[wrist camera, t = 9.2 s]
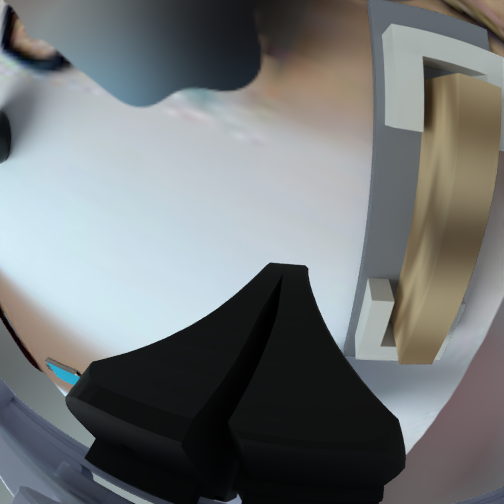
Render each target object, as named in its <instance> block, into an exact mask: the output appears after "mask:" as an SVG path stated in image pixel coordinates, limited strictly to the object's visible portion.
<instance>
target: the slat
mask: <svg viewBox="0 0 504 504" xmlns="http://www.w3.org/2000/svg"><path fill="white" fill-rule="evenodd" d="M501 111H502V99H501V88H500V87H498V86H495V85H493V84H490V83H487V82H485V81H482V80H479V79H476V78H473V77H470V76H467V75H464V74H461V73H456V74H451V75H446V76H441V77H436V78H431V79H427V80H424V128H423V132H422V137H421V152H420V164H419V174H418V182H417V190H416V198H415V205H414V211H413V217H412V223H411V228H410V234H409V239H408V244H407V248H406V253H405V258H404V262H403V266H402V270H401V274H400V278H399V282H398V286H397V290H396V294H395V297H394V305H393V309H392V312H391V315H390V316H391V321H392V327H393V332H394V337H395V343H396V349H397V355H398V361H399V364H432V363H433V361H434V359H435V357H436V355H437V353H438V351H439V350H440V348H441V346H442V344H443V342H444V340H445V338H446V336H447V334H448V331H449V329H450V327H451V325H452V323H453V321H454V318H455V316H456V314H457V311H458V309H459V307H460V304H461V302H462V299H463V297H464V294H465V292H466V289H467V287H468V284H469V281H470V278H471V275H472V273H473V270H474V267H475V264H476V261H477V257H478V254H479V251H480V247H481V244H482V240H483V237H484V233H485V229H486V225H487V221H488V217H489V212H490V208H491V203H492V198H493V192H494V187H495V181H496V174H497V167H498V158H499V148H500V136H501Z"/></svg>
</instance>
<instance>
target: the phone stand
mask: <svg viewBox="0 0 504 504" xmlns="http://www.w3.org/2000/svg"><path fill="white" fill-rule="evenodd" d="M45 361H46V362H47V363H48V364H49V366H48V365H46V366H47V367H49V368H48V369H50V368H51V369H50V370H52V371H54V372H55V374H56V375H57V376H58V377H59V378H60V379H62V380H64V381H66V382H68V383H70V384H72V385H75V384H76V382H77V381H78V380H79V378H80V377H81V375H80V376H78V375H77V374H76V372H77V370H75V369H72V368H70V367H68V366H65V365H63V364H61V363H59V362H57V361H55V360H52V359H50V358H46V360H45ZM79 374H80V373H79Z"/></svg>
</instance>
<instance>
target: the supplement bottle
mask: <svg viewBox="0 0 504 504" xmlns="http://www.w3.org/2000/svg"><path fill="white" fill-rule="evenodd" d="M9 148H10V128H9V123H8V120H7V117H6V116H5V114H4V113H3V112H1V111H0V164H1V163H2V162H4V160H5V159H6V157H7V155H8V152H9Z"/></svg>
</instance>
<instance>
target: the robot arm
mask: <svg viewBox="0 0 504 504" xmlns="http://www.w3.org/2000/svg"><path fill="white" fill-rule="evenodd" d="M65 401H66V405H67V407H68V409H69V410H70V412H71V413H72V414H73V415H74V416H75V417H76V418H77V420H78V421H79V422H80V423H81V424H82V425H83V426H84V427H85V428H86V429H87V430H88V431H89V432H90V433H91V434H92V435H93V436H94V437H95V438H96V439H95V441H94V443H93V444H92V446H91V448H88V447H86V446H85V445H83V444H82V443H80V442H78V441H76V440H75V439H74V438H72V437H70V436H69V435H67V434H66V433H64V432H63V431H61V430H60V429H58V428H57V427H55V426H54V425H53V424H51V423H50V422H49V421H47V420H46V419H44V418H43V417H42V416H40V415H39V414H38V413H37V412H35V411H34V410H33V409H31V408H30V407H29V406H28V405H26V404H25V403H24V402H23V401H22V400H20V399H19V398H18V397H17V396H16V395H15V394H14V392H13V391H12V390H11V389H10V387H9V386H8V385H7V384H6V383H5V382H4V381H3V379H1V377H0V478H1V479H2V481H3V483H4V484H5V485H6V487H7V488H8V490H9V491H10V493H11V494H12V495H13V499H12V500H11V502H10V504H135V503H133V502H131V501H129V500H127V499H125V498H123V497H121V496H119V495H118V494H116V493H114V492H112V491H111V490H109V489H107V488H105V487H104V486H102V485H100V484H99V483H97V482H95V481H94V480H93V475H92V472H93V473H94V474H96V475H98V476H99V477H101V478H103V479H105V480H106V481H108V482H110V483H112V484H114V485H116V486H118V487H119V488H121V489H123V490H125V491H127V492H129V493H131V494H134V495H136V496H138V497H140V498H142V499H144V500H147V501H149V502H151V503H154V504H379V502H381V501H382V499H383V492H384V485H386V484H387V483H388V482H390V481H391V480H392V479H394V478H395V477H396V476H398V475H399V474H400V472H401V471H402V470H403V469H404V468H405V460H406V452H405V445H404V440H403V435H402V431H401V427H400V423H399V420H398V418H396V417H395V416H394V415H393V414H392V413H391V412H390V411H389V410H388V409H387V408H386V407H385V406H384V405H383V404H382V402H381V401H380V400H379V399H378V398H377V397H376V396H375V395H374V394H373V393H372V392H371V390H370V389H369V388H368V387H367V386H366V384H365V383H364V382H363V381H362V380H361V378H360V377H359V376H358V374H357V373H356V372H355V370H354V369H353V368H352V366H351V365H350V364H349V362H348V361H347V359H346V358H345V357H344V355H343V354H342V352H341V350H340V349H339V347H338V346H337V344H336V342H335V341H334V339H333V337H332V335H331V334H330V332H329V330H328V328H327V326H326V324H325V322H324V320H323V318H322V315H321V313H320V311H319V308H318V306H317V303H316V301H315V298H314V295H313V292H312V289H311V285H310V281H309V276H308V268H307V267H306V266H305V265H293V264H280V263H269V264H268V265H266V266H265V267H264V268H263V269H262V270H261V271H260V272H259V273H258V274H257V275H256V276H255V277H254V278H253V279H252V280H251V281H250V282H249V283H248V284H247V285H245V286H244V287H243V288H242V289H241V290H240V291H239V292H238V293H236V294H235V295H234V296H233V297H232V298H230V299H229V300H228V301H226V302H225V303H224V304H223V305H221V306H220V307H219V308H217V309H216V310H215V311H213V312H212V313H210V314H209V315H207V316H206V317H204V318H202V319H201V320H199V321H197V322H196V323H194V324H192V325H191V326H189V327H187V328H185V329H183V330H181V331H179V332H177V333H175V334H173V335H171V336H169V337H167V338H165V339H162V340H160V341H157V342H155V343H153V344H150V345H148V346H145V347H142V348H139V349H137V350H134V351H131V352H128V353H124V354H121V355H117V356H113V357H110V358H106V359H102V360H98V361H93V362H92V363H91V364H90V365H89V366H88V368H87V369H86V370H85V372H84V373H83V374H82V376H81V377H80V378H79V380H78V381H77V382H76V384H75V385H74V386H73V388H72V389H71V390H70V392H69V393H68V394H67V396H66V400H65ZM90 471H91V472H90ZM453 504H504V487H502V488H499V489H497V490H494V491H492V492H489V493H486V494H483V495H480V496H477V497H474V498H471V499H467V500H464V501H460V502H457V503H453Z"/></svg>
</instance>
